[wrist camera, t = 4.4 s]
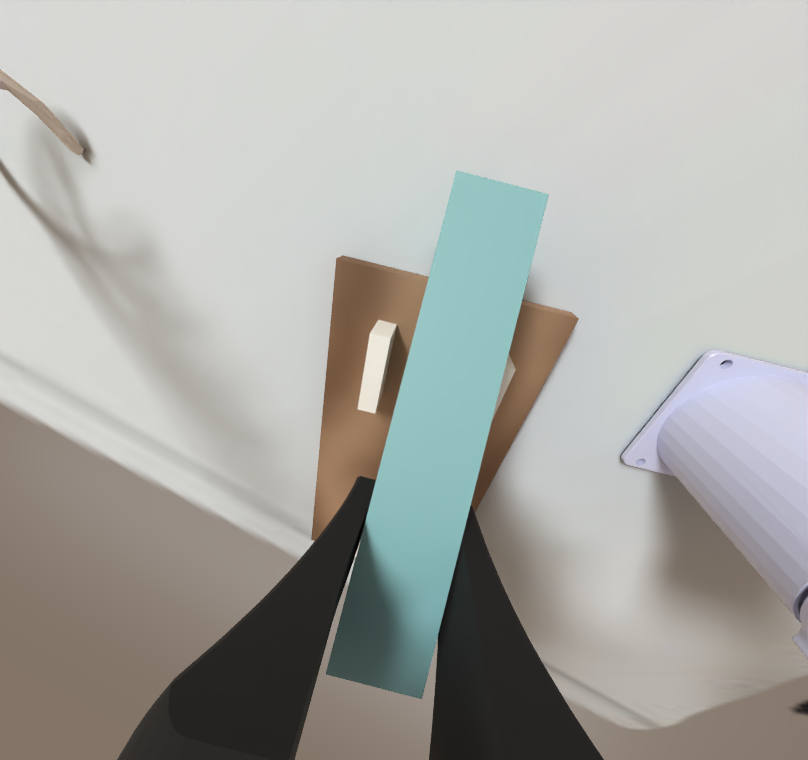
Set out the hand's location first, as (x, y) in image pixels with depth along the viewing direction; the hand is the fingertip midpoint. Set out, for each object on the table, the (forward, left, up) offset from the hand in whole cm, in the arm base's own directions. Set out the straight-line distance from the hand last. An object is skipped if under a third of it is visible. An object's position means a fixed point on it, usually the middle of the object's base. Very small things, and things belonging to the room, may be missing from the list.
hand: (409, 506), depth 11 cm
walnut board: (0, +5, -8) cm, 10 cm away
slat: (0, -1, -4) cm, 4 cm away
